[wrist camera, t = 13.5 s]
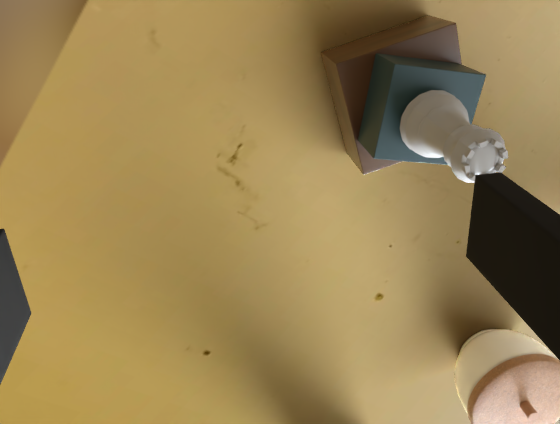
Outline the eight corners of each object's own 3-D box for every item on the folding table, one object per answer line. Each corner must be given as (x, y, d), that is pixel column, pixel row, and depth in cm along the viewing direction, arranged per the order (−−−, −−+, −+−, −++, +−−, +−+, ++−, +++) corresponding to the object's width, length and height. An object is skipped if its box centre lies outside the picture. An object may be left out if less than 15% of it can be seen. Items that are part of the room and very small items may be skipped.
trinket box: (549, 339, 60) (607, 402, 52) (480, 401, 63) (524, 470, 54) (490, 294, 56) (543, 355, 47) (419, 363, 59) (457, 431, 50)
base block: (320, 52, 42) (335, 64, 38) (428, 15, 42) (456, 22, 38) (346, 153, 46) (363, 175, 42) (445, 119, 46) (472, 137, 42)
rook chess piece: (383, 128, 36) (431, 172, 29) (428, 74, 35) (489, 106, 28) (428, 163, 38) (483, 213, 31) (472, 113, 37) (540, 152, 30)
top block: (375, 53, 38) (394, 63, 34) (459, 63, 39) (486, 74, 36) (357, 140, 41) (373, 158, 37) (436, 147, 42) (459, 166, 38)
